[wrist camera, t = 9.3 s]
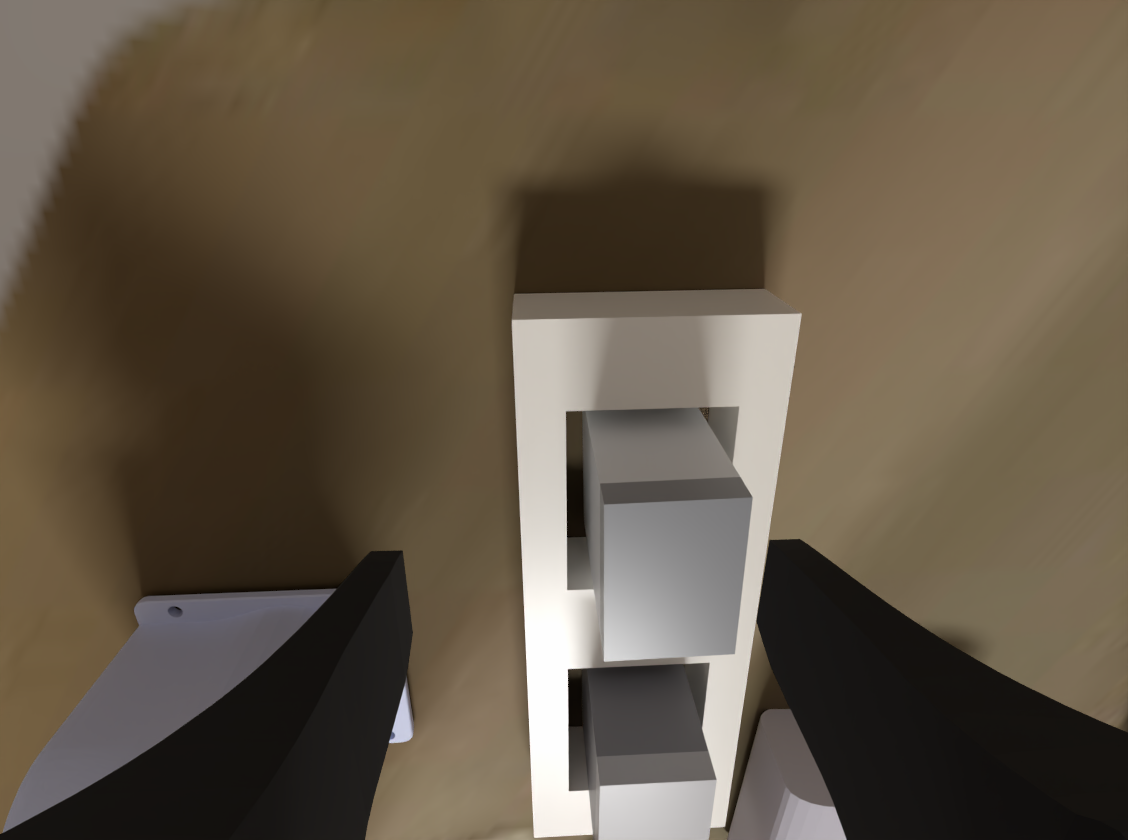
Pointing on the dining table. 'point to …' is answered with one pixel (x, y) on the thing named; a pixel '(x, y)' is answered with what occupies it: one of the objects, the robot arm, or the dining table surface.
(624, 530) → the grey plug
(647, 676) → the charcoal plug
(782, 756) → the charger
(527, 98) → the dining table surface
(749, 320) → the power strip
